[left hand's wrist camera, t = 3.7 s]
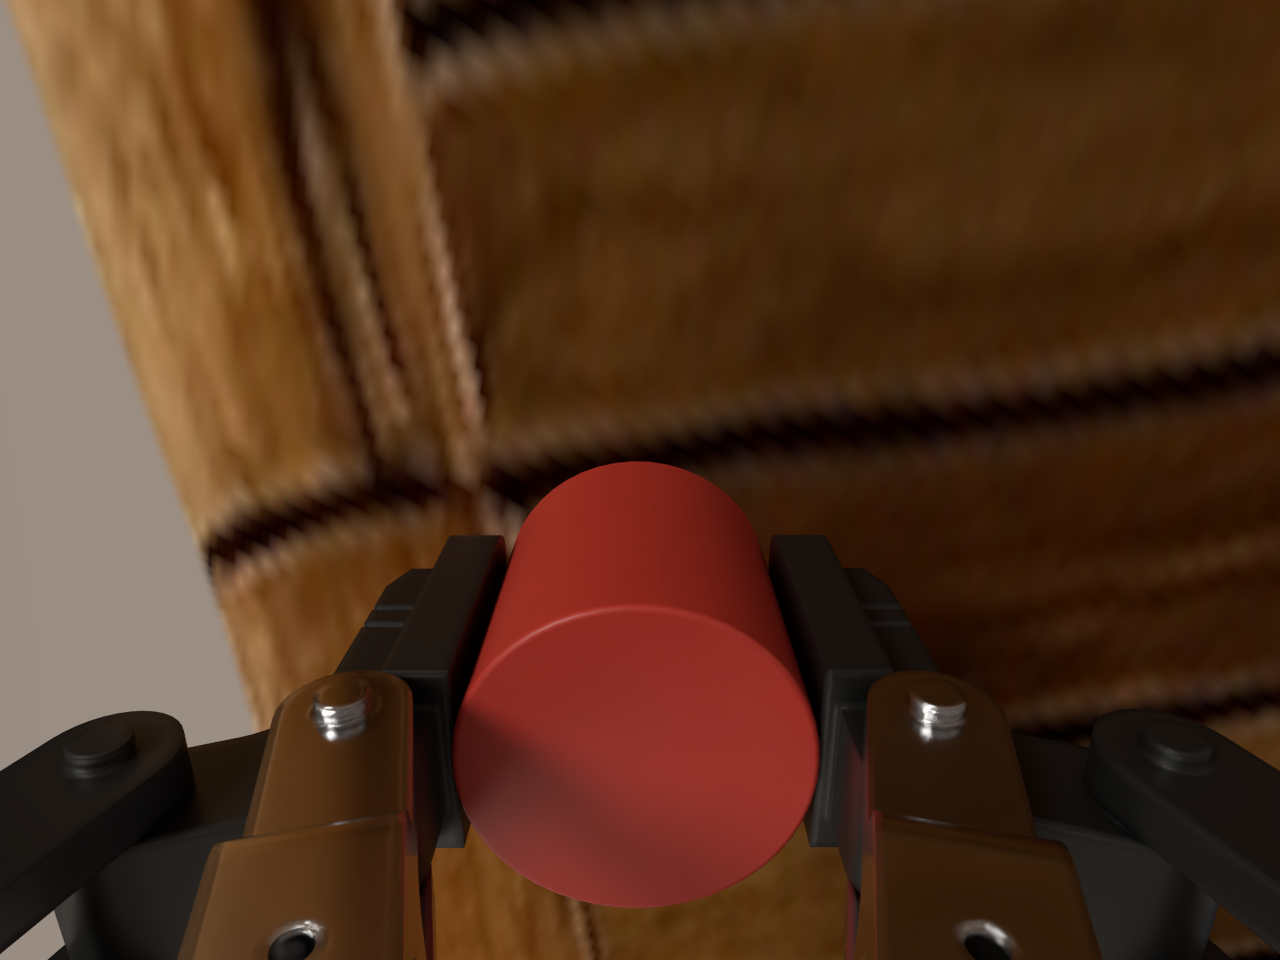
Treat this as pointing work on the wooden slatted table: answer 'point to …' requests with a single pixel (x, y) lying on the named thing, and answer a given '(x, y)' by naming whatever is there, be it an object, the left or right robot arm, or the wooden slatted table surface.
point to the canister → (636, 697)
